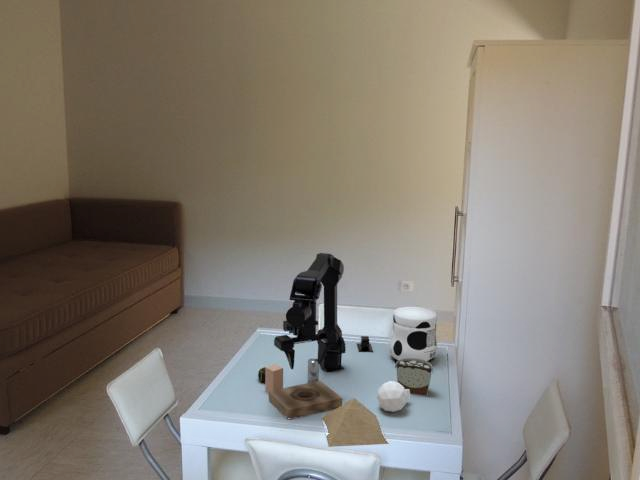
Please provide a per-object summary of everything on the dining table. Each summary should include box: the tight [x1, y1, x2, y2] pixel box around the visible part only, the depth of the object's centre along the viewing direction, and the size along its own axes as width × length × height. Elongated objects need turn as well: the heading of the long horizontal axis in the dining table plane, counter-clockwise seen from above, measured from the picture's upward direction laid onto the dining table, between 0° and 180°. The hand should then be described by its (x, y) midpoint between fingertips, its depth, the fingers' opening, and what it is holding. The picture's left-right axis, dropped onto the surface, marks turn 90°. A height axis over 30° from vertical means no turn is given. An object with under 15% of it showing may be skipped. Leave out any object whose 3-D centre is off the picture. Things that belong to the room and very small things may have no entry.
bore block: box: [268, 380, 343, 419], centre depth 177 cm, size 18×14×3 cm
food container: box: [394, 358, 434, 398], centre depth 188 cm, size 12×6×10 cm, turn 71°
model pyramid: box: [321, 397, 389, 448], centre depth 162 cm, size 17×17×10 cm
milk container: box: [389, 306, 438, 364], centre depth 213 cm, size 17×17×18 cm
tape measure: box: [257, 366, 265, 383], centre depth 194 cm, size 7×7×4 cm
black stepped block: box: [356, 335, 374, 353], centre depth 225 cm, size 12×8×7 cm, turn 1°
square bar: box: [264, 364, 284, 394], centre depth 185 cm, size 4×4×8 cm
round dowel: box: [307, 358, 320, 383], centre depth 192 cm, size 4×4×8 cm
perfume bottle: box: [376, 380, 411, 413], centre depth 175 cm, size 9×9×12 cm
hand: (305, 366), depth 176 cm, fingers open, 9 cm apart
